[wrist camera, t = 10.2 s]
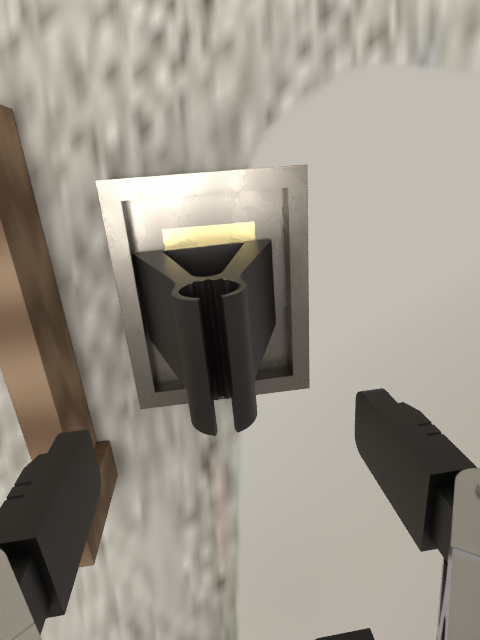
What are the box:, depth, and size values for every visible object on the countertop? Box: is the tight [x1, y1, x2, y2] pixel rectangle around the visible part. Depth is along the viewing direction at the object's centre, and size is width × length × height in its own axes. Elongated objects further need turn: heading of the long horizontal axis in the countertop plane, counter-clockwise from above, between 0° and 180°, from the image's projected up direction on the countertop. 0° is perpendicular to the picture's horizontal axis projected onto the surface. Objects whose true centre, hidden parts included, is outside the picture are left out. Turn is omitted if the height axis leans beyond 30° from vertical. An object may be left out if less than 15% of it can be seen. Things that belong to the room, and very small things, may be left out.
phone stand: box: [134, 239, 276, 436], centre depth 20 cm, size 9×6×12 cm, turn 95°
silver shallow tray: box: [96, 165, 309, 409], centre depth 26 cm, size 15×12×3 cm
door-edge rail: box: [0, 105, 118, 567], centre depth 23 cm, size 28×4×8 cm, turn 4°
